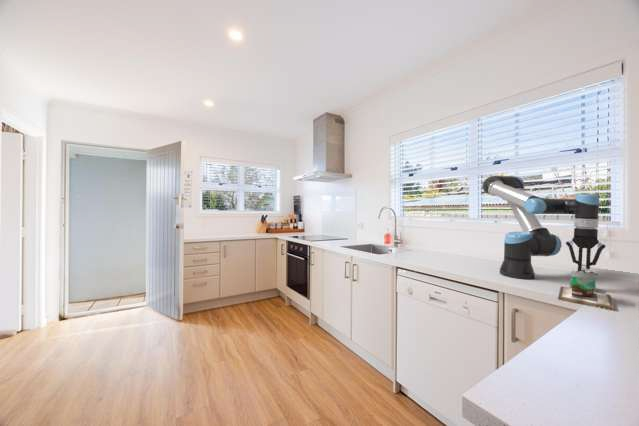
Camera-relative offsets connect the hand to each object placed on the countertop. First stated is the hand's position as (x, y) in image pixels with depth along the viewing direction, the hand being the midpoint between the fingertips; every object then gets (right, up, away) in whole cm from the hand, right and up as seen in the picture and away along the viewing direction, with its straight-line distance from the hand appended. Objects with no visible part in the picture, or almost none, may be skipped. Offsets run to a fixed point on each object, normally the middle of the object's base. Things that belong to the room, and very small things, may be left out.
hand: (583, 279), depth 119 cm
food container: (-12, -4, -13) cm, 18 cm away
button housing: (0, -4, 0) cm, 4 cm away
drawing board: (-13, -5, -13) cm, 18 cm away
